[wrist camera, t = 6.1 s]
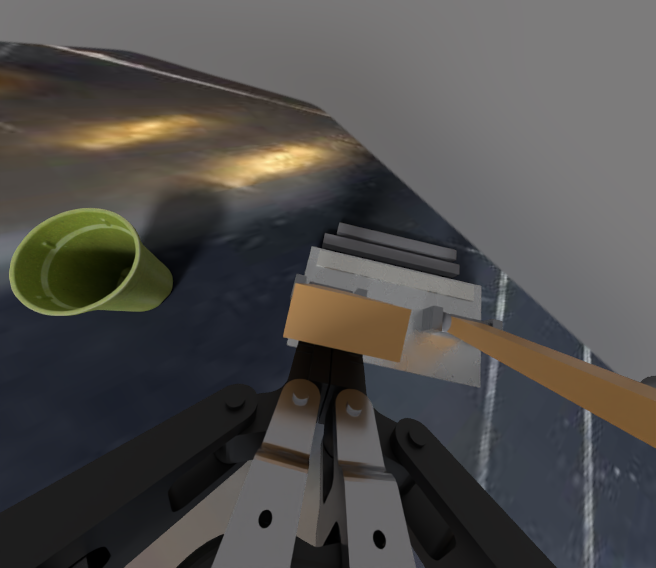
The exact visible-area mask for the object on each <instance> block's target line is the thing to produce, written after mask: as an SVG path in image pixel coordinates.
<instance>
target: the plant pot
mask: <svg viewBox="0 0 656 568" xmlns="http://www.w3.org/2000/svg"><path fill="white" fill-rule="evenodd" d="M9 279H10V282H11V283H10V284H11V288H12V290H13V292H14V294H15V296H16V297H17V298H18V299H19V300H20V301H21V302H22V303H23V304H24V305H25V306H27V307H28V308H30V309H32V310H34V311H36V312H39V313H42V314H47V315H56V316H68V315H76V314H80V313H84V312H87V311H92V310H117V311H147V310H151V309H153V308H155V307H157V306H159V305H160V304H161V303H162V301H163V300H164V299H165V298H166V297H167V296H168V295H169V294H170V292H171V290H172V286H173V278H172V275H171V272H170V271H169V269H168V268H167V267H166V266H165V265H164V264H163V263H161V262H160V261H159V260H158V259H157V258H156V257H155V256H154V255H153V254H152V253H151V252H150V251H149V250H148V249H147V248H146V247H145V246H144V245H143V244H142V242H141V241H140V238H139V235H138V233H137V232H136V230H135V228H134V227H133V226H132V225H131V224H130V223H129V222H128V221H127V220H126V219H124V218H123V217H122V216H120V215H118V214H116V213H114V212H112V211H108V210H104V209H98V208H81V209H76V210H71V211H66V212H63V213H60V214H59V215H56V216H54V217H51V218H49V219H47V220H46V221H44V222H42V223H41V224H39V225H38V226H37V227H35V228H34V229H33V230H32V231H30V232H29V233H28V235H27V236H26V237H25V238H24V239H23V241H22V242H21V243H20V245H19V246H18V247H17V249H16V251H15V253H14V255H13V257H12V260H11V264H10V270H9Z"/></svg>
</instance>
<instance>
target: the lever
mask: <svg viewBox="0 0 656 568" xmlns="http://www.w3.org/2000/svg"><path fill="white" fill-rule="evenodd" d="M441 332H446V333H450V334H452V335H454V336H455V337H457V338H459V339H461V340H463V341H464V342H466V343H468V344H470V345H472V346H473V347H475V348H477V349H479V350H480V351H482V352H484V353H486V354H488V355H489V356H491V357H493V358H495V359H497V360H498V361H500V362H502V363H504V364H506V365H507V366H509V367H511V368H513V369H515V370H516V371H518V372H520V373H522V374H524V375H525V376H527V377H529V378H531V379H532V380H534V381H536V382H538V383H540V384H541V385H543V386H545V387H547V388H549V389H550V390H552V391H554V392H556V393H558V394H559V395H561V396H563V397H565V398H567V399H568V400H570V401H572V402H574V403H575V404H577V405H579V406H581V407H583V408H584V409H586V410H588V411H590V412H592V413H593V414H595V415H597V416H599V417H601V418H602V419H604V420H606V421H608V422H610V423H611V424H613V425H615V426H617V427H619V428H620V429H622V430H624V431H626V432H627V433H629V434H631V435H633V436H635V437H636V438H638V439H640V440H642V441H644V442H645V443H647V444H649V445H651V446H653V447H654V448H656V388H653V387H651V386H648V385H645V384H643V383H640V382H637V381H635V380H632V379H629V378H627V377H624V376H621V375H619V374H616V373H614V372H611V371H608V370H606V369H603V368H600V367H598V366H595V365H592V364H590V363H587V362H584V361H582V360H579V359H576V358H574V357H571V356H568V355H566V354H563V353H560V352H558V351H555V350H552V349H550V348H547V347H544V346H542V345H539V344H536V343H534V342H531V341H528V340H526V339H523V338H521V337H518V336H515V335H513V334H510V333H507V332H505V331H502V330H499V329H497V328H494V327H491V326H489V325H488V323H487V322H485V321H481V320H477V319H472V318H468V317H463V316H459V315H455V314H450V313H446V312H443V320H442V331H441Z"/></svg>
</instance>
